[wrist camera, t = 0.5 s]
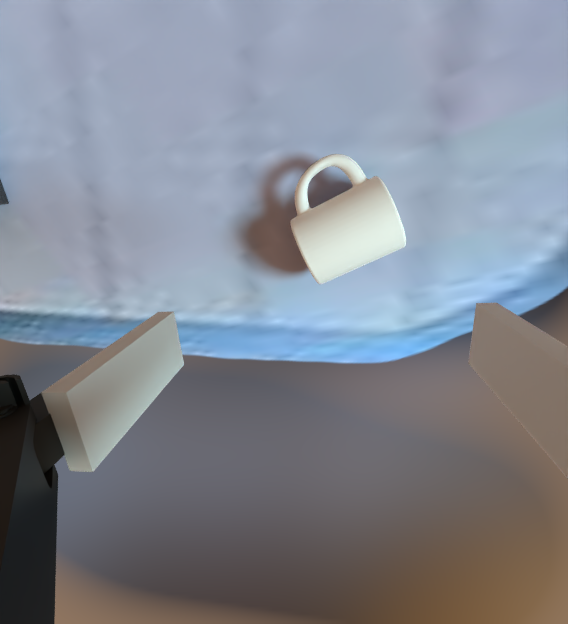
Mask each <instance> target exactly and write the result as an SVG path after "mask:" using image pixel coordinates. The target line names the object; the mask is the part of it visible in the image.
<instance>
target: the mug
mask: <svg viewBox="0 0 568 624" xmlns="http://www.w3.org/2000/svg"><path fill="white" fill-rule="evenodd" d="M330 166H335V167H338V168H340V169H341V170H342V171H344V173H345V174H346V175H347V176H348V178H349V179H350V181H351V183H352V185H353V187H352V188H351V189H349V190H347V191H345V192H343V193H341V194H340V195H338V196H336V197H334V198H332V199H330V200H328V201H326V202H324V203H322V204H320V205H318V206H316V207H314V208H310V206H309V203H308V197H307V189H308V185H309V182H310V180H311V179H312V178H313V177H314V176H315V175H316V174H317V173H318V172H320V171H321V170H323V169H325V168H327V167H330ZM295 207H296V211H297V217H295V218H293V219H292V220H291V222H290V224H291V229H292V232H293V235H294V238H295V240H296V243H297V245H298V248H299V250H300V252H301V254H302V257H303V259H304V261H305V263H306V265H307V267H308V269H309V270H310V272H311V274H312V276H313V277H314V279H315V280H316V281H317V283H319V284H323V283H326V282H328V281H330V280H332V279H335V278H337V277H339V276H341V275H344V274H346V273H348V272H350V271H352V270H355V269H357V268H359V267H361V266H364V265H366V264H368V263H370V262H373V261H375V260H377V259H379V258H381V257H384V256H386V255H388V254H390V253H393V252H395V251H397V250H399V249H402V248H404V247H405V245H406V236H405V232H404V228H403V225H402V222H401V219H400V216H399V213H398V211H397V208H396V206H395V204H394V201H393V199H392V197H391V195H390V193H389V191H388V189H387V188H386V186H385V184H384V183H383V181H382V180H381V179H380V178H379V177H377V176H374V177H372V178H370V179H367V178H366V176H365V174H364V173H363V171H362V169H361V168H360V166H359V165H358V164H357V163H356V162H355V161H354V160H353V159H351V158H350V157H348V156H345V155H341V154H333V155H328V156H326V157H323V158H321V159H320V160H318V161H316V162H315V163H314V164H312V165H311V166H310V167H309V168H308V169H307V170H306V171H305V173H304V174H303V175H302V177H301V178H300V180H299V182H298V184H297V187H296V190H295Z"/></svg>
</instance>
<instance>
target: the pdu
mask: <svg viewBox="0 0 568 624" xmlns="http://www.w3.org/2000/svg"><path fill="white" fill-rule="evenodd" d="M2 204H9V202H8V199H7V197H6V194H5V191H4V188H3V186H2V183H1V180H0V205H2Z"/></svg>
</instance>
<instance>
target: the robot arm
mask: <svg viewBox="0 0 568 624" xmlns="http://www.w3.org/2000/svg"><path fill="white" fill-rule="evenodd" d="M469 364H470V366H471V367H472V368H473V369H474V370H475V371H476V372H477V374H478V375H479V376H480V377H481V378H482V380H483V381H484V382H485V383H486V384H487V385H488V387H489V388H490V389H491V390H492V391H493V392H494V393H495V395H496V396H497V397H498V398H499V399H500V401H501V402H502V403H503V404H504V405H505V406H506V407H507V409H508V410H509V411H510V412H511V413H512V414H513V415H514V417H515V418H516V419H517V420H518V421H519V423H520V424H521V425H522V426H523V427H524V428H525V429H526V431H527V432H528V433H529V434H530V435H531V436H532V438H533V439H534V440H535V441H536V442H537V443H538V445H539V446H540V447H541V448H542V449H543V450H544V452H545V453H546V454H547V455H548V456H549V457H550V458H551V460H552V461H553V462H554V463H555V464H556V465H557V467H558V468H559V469H560V470H561V471H562V472H563V474H564V475H565V476H566V477H567V478H568V347H567V346H566V345H564V344H563V343H561V342H559V341H558V340H556V339H555V338H553V337H551V336H550V335H548V334H547V333H545V332H543V331H542V330H540V329H538V328H537V327H535V326H534V325H532V324H530V323H529V322H527V321H525V320H524V319H522V318H521V317H519V316H517V315H516V314H514V313H512V312H511V311H509V310H508V309H506V308H504V307H503V306H501V305H499V304H498V303H476V310H475V318H474V325H473V333H472V340H471V349H470V355H469ZM183 365H184V362H183V356H182V351H181V346H180V341H179V336H178V331H177V325H176V320H175V315H174V312H158V313H156V314H155V315H153V316H152V317H150V318H149V319H148V320H146V321H145V322H143V323H142V324H140V325H139V326H137V327H136V328H134V329H133V330H132V331H130V332H129V333H127V334H126V335H124V336H123V337H121V338H120V339H118V340H117V341H116V342H114V343H113V344H111V345H110V346H108V347H107V348H105V349H104V350H102V351H101V352H100V353H98V354H97V355H95V356H94V357H92V358H91V359H89V360H88V361H86V362H85V363H84V364H82V365H81V366H79V367H78V368H76V369H75V370H73V371H72V372H70V373H69V374H68V375H66V376H65V377H63V378H62V379H60V380H59V381H57V382H56V383H54V384H53V385H51V386H50V387H49V388H47V389H46V390H44V391H43V392H41V393H40V394H39V395H37V396H36V397H34V398H33V399H31V400H30V401H29V398H28V396H27V393H26V390H25V388H24V385H23V383H22V380H21V378H20V376H18V375H4V376H0V624H54V615H55V575H56V535H57V534H56V533H57V493H58V473H57V471H56V468H55V465H54V464H55V463H56V462H57V461H58V460H59V459H60V458H61V457H62V456H63V455H64V456H65V458H66V461H67V464H68V467H69V469H70V471H85V472H87V471H88V472H93V471H94V470H95V469H96V468H97V466H98V465H99V464H100V463H101V462H102V461H103V459H104V458H105V457H106V456H107V455H108V453H109V452H110V451H111V450H112V449H113V447H114V446H115V445H116V444H117V443H118V442H119V440H120V439H121V438H122V437H123V436H124V434H125V433H126V432H127V431H128V430H129V429H130V427H131V426H132V425H133V424H134V423H135V422H136V420H137V419H138V418H139V417H140V416H141V415H142V413H143V412H144V411H145V410H146V409H147V407H148V406H149V405H150V404H151V403H152V401H153V400H154V399H155V398H156V397H157V395H158V394H159V393H160V392H161V391H162V390H163V389H164V387H165V386H166V385H167V384H168V383H169V381H170V380H171V379H172V378H173V377H174V376H175V374H176V373H177V372H178V371H179V370H180V368H181V367H182V366H183Z"/></svg>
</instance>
